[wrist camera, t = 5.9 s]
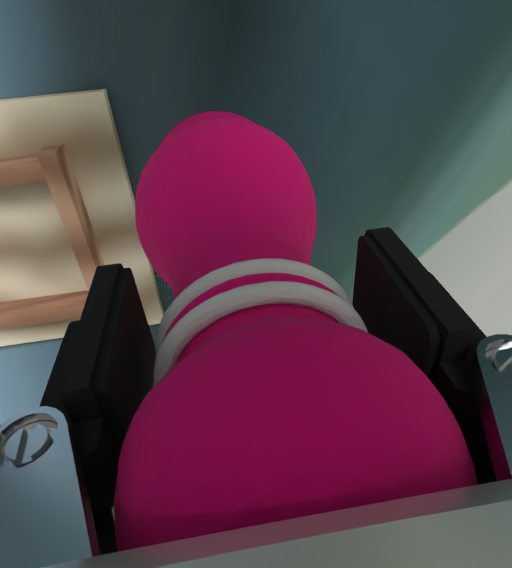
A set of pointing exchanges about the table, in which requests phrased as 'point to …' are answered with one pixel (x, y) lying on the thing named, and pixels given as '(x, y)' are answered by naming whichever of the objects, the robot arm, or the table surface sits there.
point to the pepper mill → (263, 357)
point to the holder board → (63, 213)
